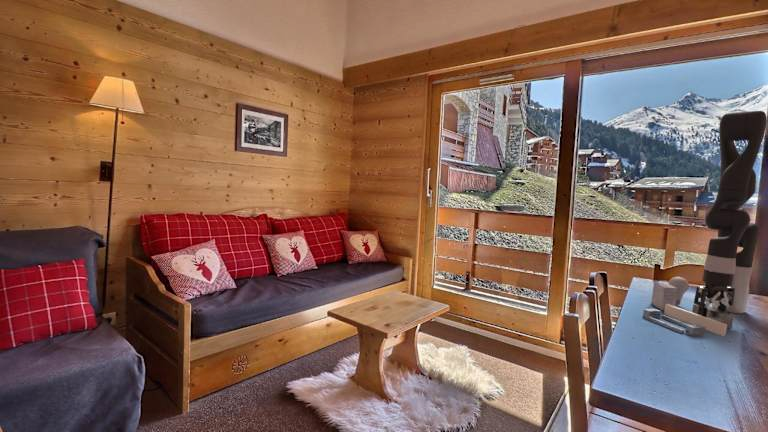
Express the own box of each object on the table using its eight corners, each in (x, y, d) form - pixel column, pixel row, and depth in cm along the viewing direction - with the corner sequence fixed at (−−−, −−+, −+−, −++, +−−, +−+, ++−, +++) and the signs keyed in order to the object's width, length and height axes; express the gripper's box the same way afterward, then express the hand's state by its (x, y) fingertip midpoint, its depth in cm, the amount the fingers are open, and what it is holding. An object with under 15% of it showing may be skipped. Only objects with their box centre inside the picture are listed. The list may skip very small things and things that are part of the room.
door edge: (667, 314, 133) (669, 304, 133) (725, 335, 116) (727, 324, 116) (664, 314, 133) (665, 304, 132) (721, 335, 116) (723, 324, 115)
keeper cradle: (657, 315, 131) (658, 308, 130) (707, 335, 115) (709, 327, 115) (639, 316, 129) (640, 309, 128) (688, 336, 113) (689, 328, 113)
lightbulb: (681, 304, 147) (686, 276, 146) (688, 309, 141) (693, 280, 140) (663, 301, 149) (667, 274, 148) (669, 306, 143) (673, 277, 142)
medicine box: (675, 312, 136) (678, 288, 135) (661, 310, 137) (664, 287, 136) (663, 305, 144) (667, 282, 143) (650, 303, 145) (653, 281, 144)
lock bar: (698, 318, 132) (701, 304, 131) (731, 329, 122) (733, 314, 122) (691, 318, 131) (693, 304, 130) (723, 330, 121) (725, 314, 121)
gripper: (722, 267, 130) (714, 313, 132) (690, 266, 126) (683, 314, 128) (747, 273, 123) (739, 321, 125) (715, 272, 119) (707, 322, 121)
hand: (711, 317), depth 126 cm, fingers open, 8 cm apart
